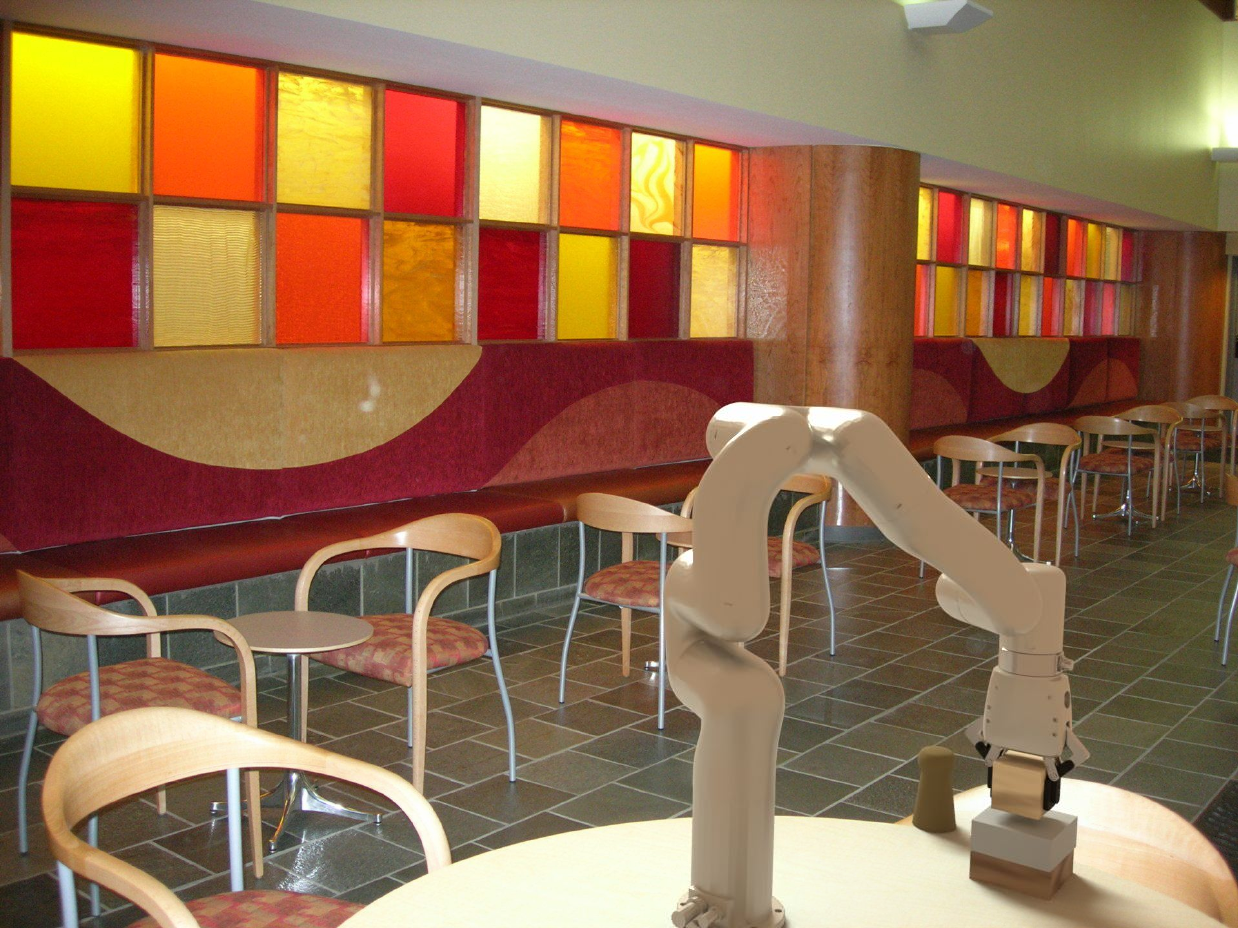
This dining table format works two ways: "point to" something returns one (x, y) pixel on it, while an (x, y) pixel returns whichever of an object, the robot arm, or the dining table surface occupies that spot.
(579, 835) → the dining table surface
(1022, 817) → the tower top
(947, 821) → the brown tapered cylinder
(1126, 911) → the dining table surface
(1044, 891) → the tower base
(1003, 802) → the block
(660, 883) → the dining table surface
